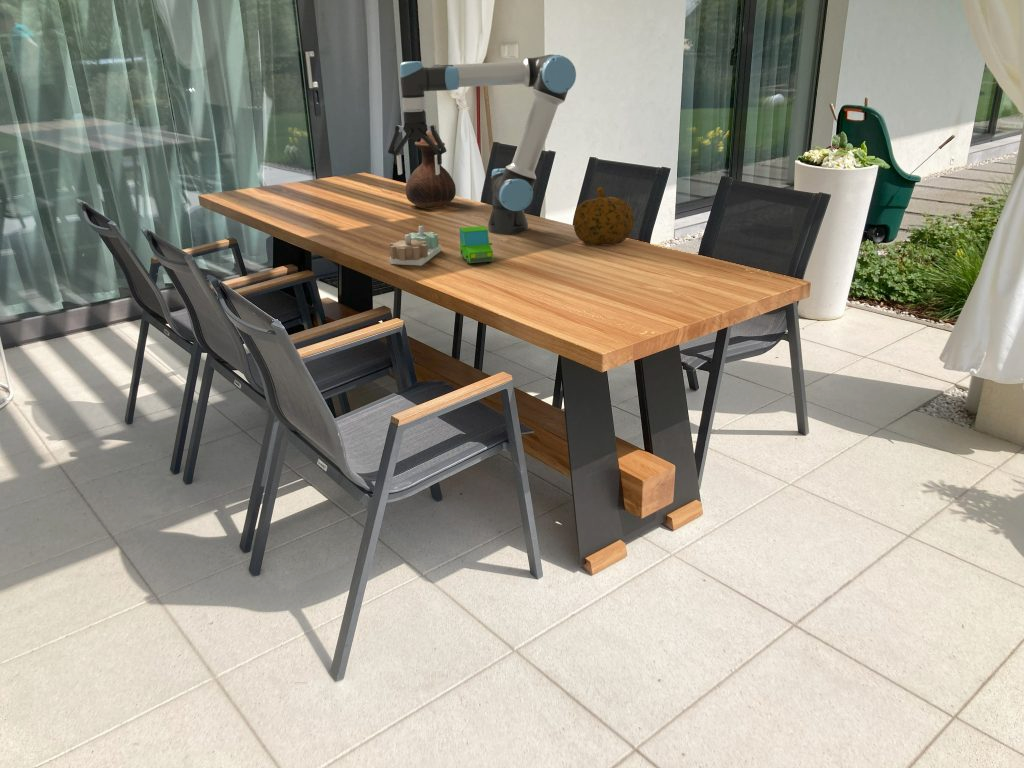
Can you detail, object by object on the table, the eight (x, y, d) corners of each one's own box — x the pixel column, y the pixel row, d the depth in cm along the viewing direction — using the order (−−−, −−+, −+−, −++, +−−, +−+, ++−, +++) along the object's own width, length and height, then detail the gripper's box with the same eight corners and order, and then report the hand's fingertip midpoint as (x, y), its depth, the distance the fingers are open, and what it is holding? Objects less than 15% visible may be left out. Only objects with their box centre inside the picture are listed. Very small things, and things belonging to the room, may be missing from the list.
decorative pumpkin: (636, 247, 286) (633, 188, 279) (575, 252, 288) (571, 193, 281) (632, 236, 305) (630, 180, 298) (575, 240, 307) (571, 185, 300)
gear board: (443, 250, 288) (441, 224, 285) (420, 267, 268) (419, 240, 264) (409, 249, 291) (407, 223, 287) (384, 265, 271) (382, 238, 267)
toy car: (466, 267, 268) (465, 236, 264) (457, 257, 280) (456, 227, 276) (497, 264, 271) (496, 234, 267) (487, 255, 283) (486, 225, 279)
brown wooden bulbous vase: (466, 204, 364) (464, 132, 352) (437, 212, 347) (433, 138, 336) (427, 199, 375) (423, 130, 363) (396, 207, 358) (391, 135, 346)
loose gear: (442, 243, 289) (441, 232, 288) (432, 251, 280) (431, 239, 278) (413, 242, 292) (413, 231, 290) (403, 249, 282) (402, 237, 281)
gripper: (452, 108, 283) (456, 172, 291) (382, 109, 287) (388, 172, 295) (447, 111, 276) (451, 176, 284) (375, 112, 280) (381, 176, 289)
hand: (419, 174), depth 290 cm, fingers open, 13 cm apart
